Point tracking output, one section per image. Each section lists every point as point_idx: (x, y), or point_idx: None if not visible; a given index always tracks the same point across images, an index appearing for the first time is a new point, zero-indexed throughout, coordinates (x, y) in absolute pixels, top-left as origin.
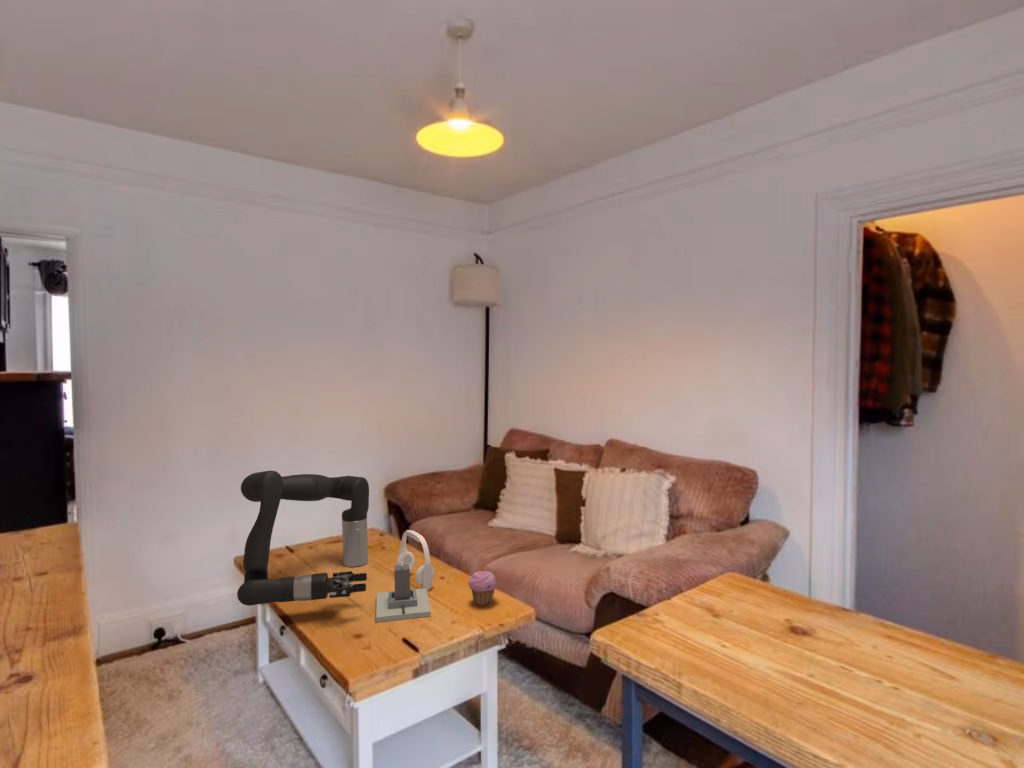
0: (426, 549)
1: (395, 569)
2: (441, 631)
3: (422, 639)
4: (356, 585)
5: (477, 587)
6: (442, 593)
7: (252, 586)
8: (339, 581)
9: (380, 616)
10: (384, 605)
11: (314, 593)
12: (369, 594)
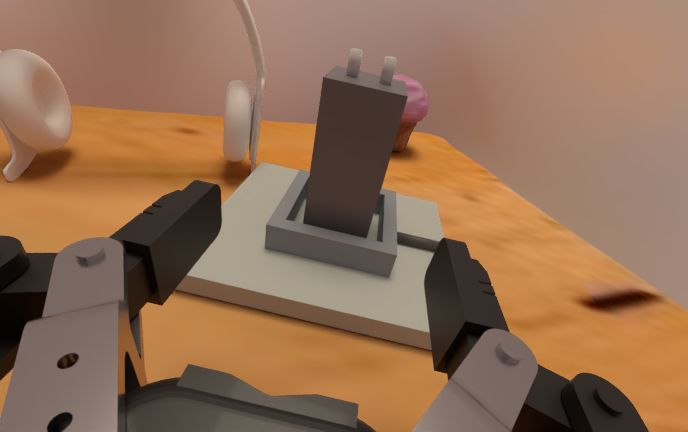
0: (251, 13)
1: (391, 91)
2: (521, 226)
3: (577, 267)
4: (480, 301)
5: (425, 110)
6: (293, 160)
7: None
8: None
9: None
10: (342, 280)
11: None
12: None
